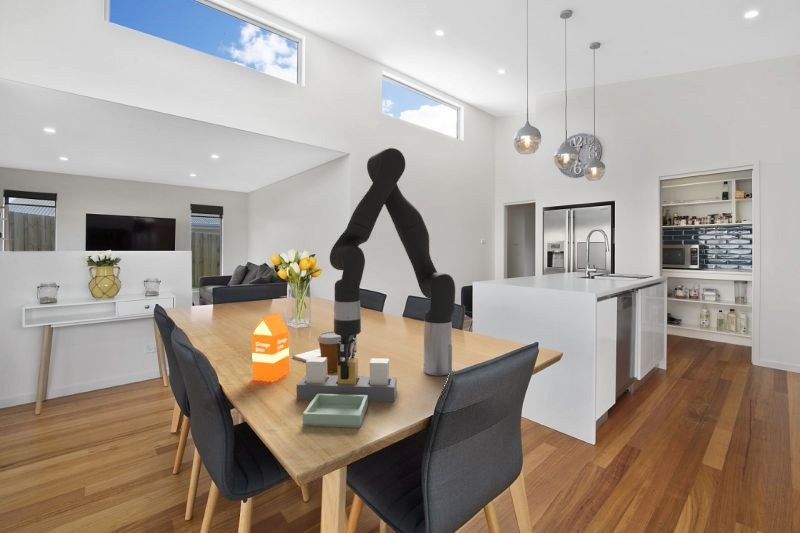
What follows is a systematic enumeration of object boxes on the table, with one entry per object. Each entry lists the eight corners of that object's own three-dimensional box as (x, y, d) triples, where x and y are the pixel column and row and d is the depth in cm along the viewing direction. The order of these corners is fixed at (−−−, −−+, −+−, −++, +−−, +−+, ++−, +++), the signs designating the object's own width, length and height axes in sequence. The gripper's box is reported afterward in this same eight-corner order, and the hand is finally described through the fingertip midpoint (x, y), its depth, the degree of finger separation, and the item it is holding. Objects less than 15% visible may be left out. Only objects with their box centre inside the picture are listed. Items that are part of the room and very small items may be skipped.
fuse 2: (389, 392, 106) (389, 358, 105) (387, 398, 102) (387, 363, 101) (371, 392, 106) (371, 358, 106) (369, 398, 102) (369, 362, 102)
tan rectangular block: (358, 392, 106) (357, 358, 106) (355, 397, 102) (355, 362, 102) (341, 391, 107) (340, 357, 106) (337, 397, 103) (337, 362, 102)
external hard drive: (292, 359, 139) (319, 352, 148) (306, 363, 134) (332, 355, 143) (292, 355, 139) (319, 348, 148) (306, 359, 133) (332, 351, 143)
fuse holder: (396, 390, 108) (396, 376, 107) (394, 401, 100) (394, 387, 99) (306, 387, 110) (306, 374, 109) (296, 399, 102) (296, 384, 101)
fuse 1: (327, 391, 107) (327, 357, 106) (323, 396, 103) (323, 361, 102) (310, 390, 107) (310, 357, 107) (306, 396, 103) (305, 361, 103)
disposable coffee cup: (340, 374, 121) (340, 338, 120) (313, 372, 122) (312, 337, 122) (350, 365, 130) (349, 331, 129) (324, 363, 132) (324, 330, 131)
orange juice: (289, 372, 123) (288, 313, 122) (273, 382, 114) (272, 318, 113) (269, 370, 125) (268, 312, 124) (252, 379, 116) (250, 317, 115)
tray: (367, 406, 97) (367, 395, 97) (360, 428, 85) (360, 415, 85) (317, 404, 98) (317, 393, 98) (302, 426, 86) (302, 413, 86)
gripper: (355, 322, 96) (356, 384, 97) (364, 312, 110) (365, 366, 111) (327, 321, 96) (328, 383, 97) (340, 311, 111) (340, 365, 112)
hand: (347, 374), depth 104 cm, fingers open, 7 cm apart
